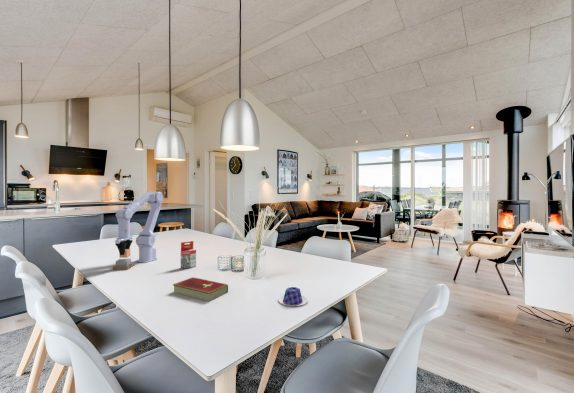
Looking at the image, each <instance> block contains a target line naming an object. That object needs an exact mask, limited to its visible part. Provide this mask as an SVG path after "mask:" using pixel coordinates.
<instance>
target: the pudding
mask: <svg viewBox="0 0 574 393" xmlns="http://www.w3.org/2000/svg"><path fill="white" fill-rule="evenodd" d="M284 292H285V293H284V294H283V295H282V296H280V297H279V298H278V302H279V303H280V304H281V305H283V306H288V307H299V306H303V305H306V304H307V303H308V298H307V297H305V296H304V295H302V291H301V289H300V288H299V287H296V286H291V287H287V288H286V289H285V291H284Z"/></svg>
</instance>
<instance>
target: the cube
mask: <svg viewBox="0 0 574 393" xmlns="http://www.w3.org/2000/svg"><path fill="white" fill-rule="evenodd" d="M129 257H131V248H130V249H125V254H124V255H120V254H119V259H128V258H129Z"/></svg>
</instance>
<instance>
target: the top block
mask: <svg viewBox="0 0 574 393" xmlns="http://www.w3.org/2000/svg"><path fill="white" fill-rule="evenodd" d="M130 263H132V258H118V259H117V260H115V265H116V266H127V265H129V264H130Z"/></svg>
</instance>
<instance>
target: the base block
mask: <svg viewBox="0 0 574 393" xmlns="http://www.w3.org/2000/svg"><path fill="white" fill-rule="evenodd" d="M135 265H136V263H135V262H131V263H130V264H129V265H127V266H116V264H115V265H113V266H112V271H116V270H117V271H126V270H127V271H128V270H130V269H132V268H134V267H135ZM133 266H134V267H133ZM131 267H132V268H131Z"/></svg>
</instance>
